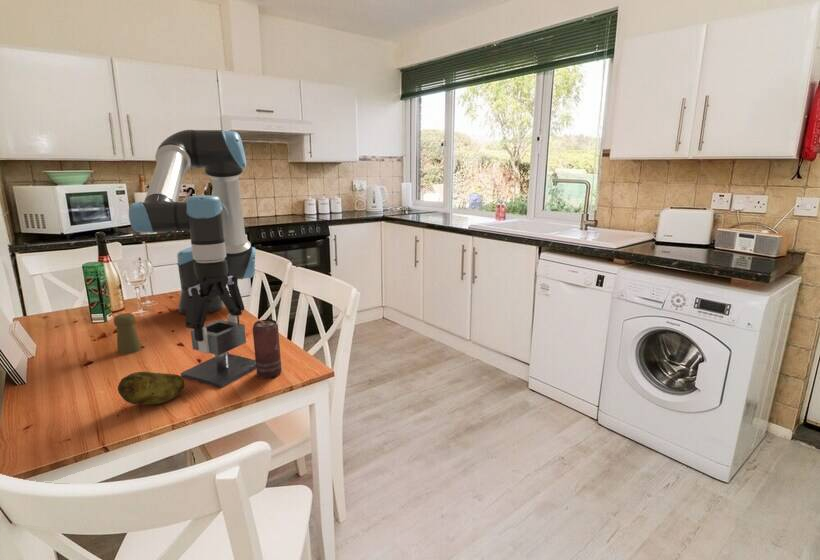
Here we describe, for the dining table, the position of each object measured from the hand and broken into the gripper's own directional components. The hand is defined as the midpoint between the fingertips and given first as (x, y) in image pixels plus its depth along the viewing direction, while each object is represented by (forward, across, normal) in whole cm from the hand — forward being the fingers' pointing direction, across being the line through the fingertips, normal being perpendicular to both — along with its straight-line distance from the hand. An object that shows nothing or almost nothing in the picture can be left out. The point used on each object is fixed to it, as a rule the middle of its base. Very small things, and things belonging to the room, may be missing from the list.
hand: (219, 344), depth 114 cm
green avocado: (+8, +18, -2) cm, 20 cm away
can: (+8, -4, +12) cm, 15 cm away
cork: (+7, +2, -35) cm, 36 cm away
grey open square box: (0, 0, 0) cm, 0 cm away
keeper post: (+7, 0, 0) cm, 7 cm away
